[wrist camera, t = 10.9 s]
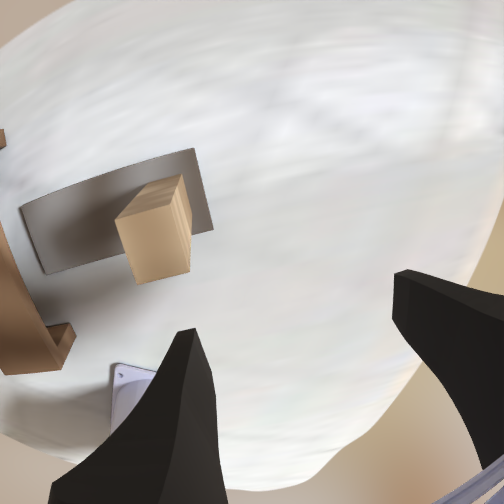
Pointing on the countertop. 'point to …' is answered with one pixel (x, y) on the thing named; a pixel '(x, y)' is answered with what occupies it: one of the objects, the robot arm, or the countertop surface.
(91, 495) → the robot arm
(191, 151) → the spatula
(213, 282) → the countertop surface
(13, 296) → the brown wooden bridge
